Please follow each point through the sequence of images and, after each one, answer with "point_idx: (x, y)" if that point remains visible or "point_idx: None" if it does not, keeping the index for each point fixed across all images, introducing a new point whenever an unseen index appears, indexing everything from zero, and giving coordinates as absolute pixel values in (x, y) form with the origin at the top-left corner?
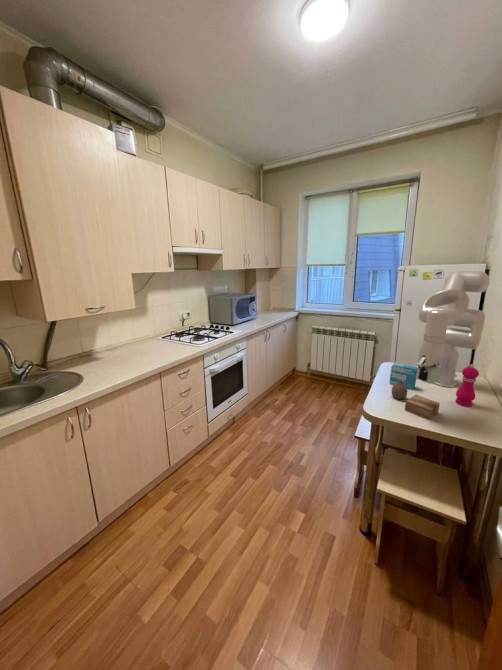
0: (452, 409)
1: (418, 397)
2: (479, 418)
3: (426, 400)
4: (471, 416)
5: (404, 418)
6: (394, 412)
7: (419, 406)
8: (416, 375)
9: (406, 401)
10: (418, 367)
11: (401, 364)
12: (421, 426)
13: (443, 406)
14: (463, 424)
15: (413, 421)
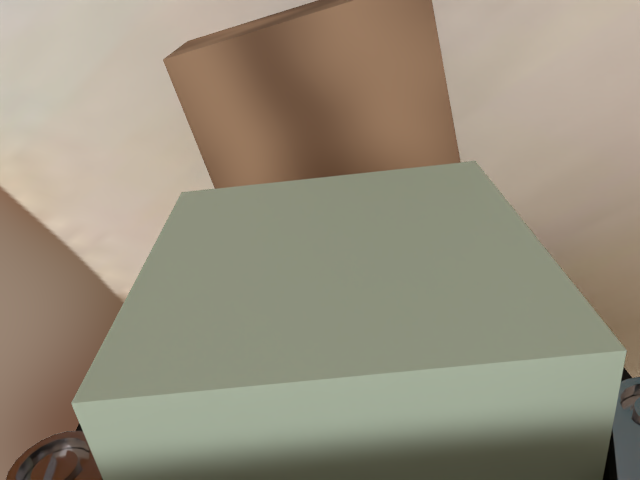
0: (614, 193)
1: (384, 51)
2: (630, 336)
3: (400, 137)
4: (614, 304)
5: (75, 149)
6: (52, 37)
7: None
8: (166, 228)
9: (167, 64)
10: (100, 389)
11: None
12: (126, 270)
13: (607, 130)
14: None
15: (118, 206)
